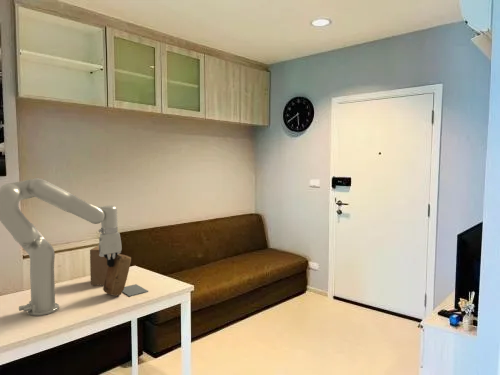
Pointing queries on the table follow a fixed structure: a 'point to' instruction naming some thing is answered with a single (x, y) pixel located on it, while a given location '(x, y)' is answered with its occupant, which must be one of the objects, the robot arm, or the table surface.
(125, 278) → the block
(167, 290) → the table surface
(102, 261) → the wooden block
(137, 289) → the mat
